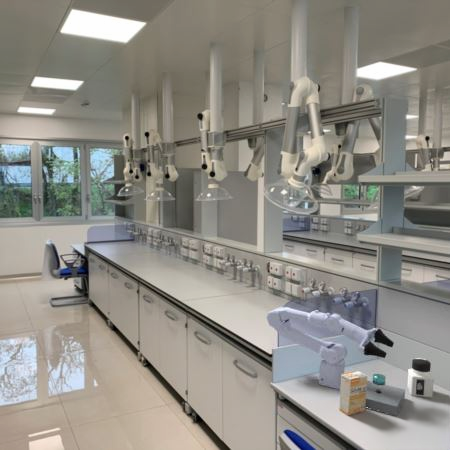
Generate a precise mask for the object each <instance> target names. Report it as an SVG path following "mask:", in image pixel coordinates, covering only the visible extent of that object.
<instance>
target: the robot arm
mask: <svg viewBox="0 0 450 450" xmlns="http://www.w3.org/2000/svg"><path fill="white" fill-rule="evenodd" d="M291 319H292V320H299V321H305V322H308V324H309V325H310V326H315V327H319V328H324V329H328V331H329V332H332V333H333V332H336V333H338V334H340V335H342V336H344V337H346V338H348V339H350V340H352V341H353V342H356V343H358V344H359V346H358V349H357V351H358V352H361V353H362V354H363V355H365V356H375V357H379V358H383V359H385V358H386V356H387V354H388V353H387V352H386V351H385V350H383V349H381V348H380V347H378V346H376V345H375V344H374V343H378V344H381V345H385V346H387V347H389V348H393V347H394V343H395V342H394V341H393V340H391V339H390V337H388V336H386V334H385V333H384V332H383V331H382V329H381V328H377V327H376V328H375V327H373V328H372V329H369V330H366V329H365V328H362V327H360V326H359V325H356V324H354V323H352V322H350V321H348V320H346V319H344V318H343V317H342V315H341V314H338V313H332V314H331V313H330V312H326V313H325V312H320V311H319V310H318V309H315V310H313V311H310V312H307V311H302V310H299V309H295V308H291V307H288V306H287V307H286V306H279V307H277V308H274V309H272V310H269V311H268V312H267V315H266V320H267V322H268V326H270V327H272V328H273V329H274V330H275V331H276V332H277V333H278V334H279V335H280V336H281V337H282V338H284V339H286V340H288V341H291V342H292V343H294V344H297V345H300V346H302V347H305V348H306V349H309V350H310V351H312V352H315V353H318V354H319V357H320V358H321V359H322V360H321V361H320V364H319V369H318V371H319V373H318V376H319V377H318V385H321V386H324V387H329V388H332V389H337V390H340V388H341V374H345V370H346V369H345V368H346V365H345V364H346V362H345V361H346V360H345V358H346V357H347V356H348V349H347V347H346V345H345V344H343V343H340V342H339V343H335V342H333V341H325V340H323V339H320V338H317V337H316V336H313V335H310V334H308V333H306V332H303V331H301V330H299V329H297V328H295V327H292V325H291ZM283 321H285V322H284V323H282V322H283ZM373 339H374V343H373V342H372V340H373Z"/></svg>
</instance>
